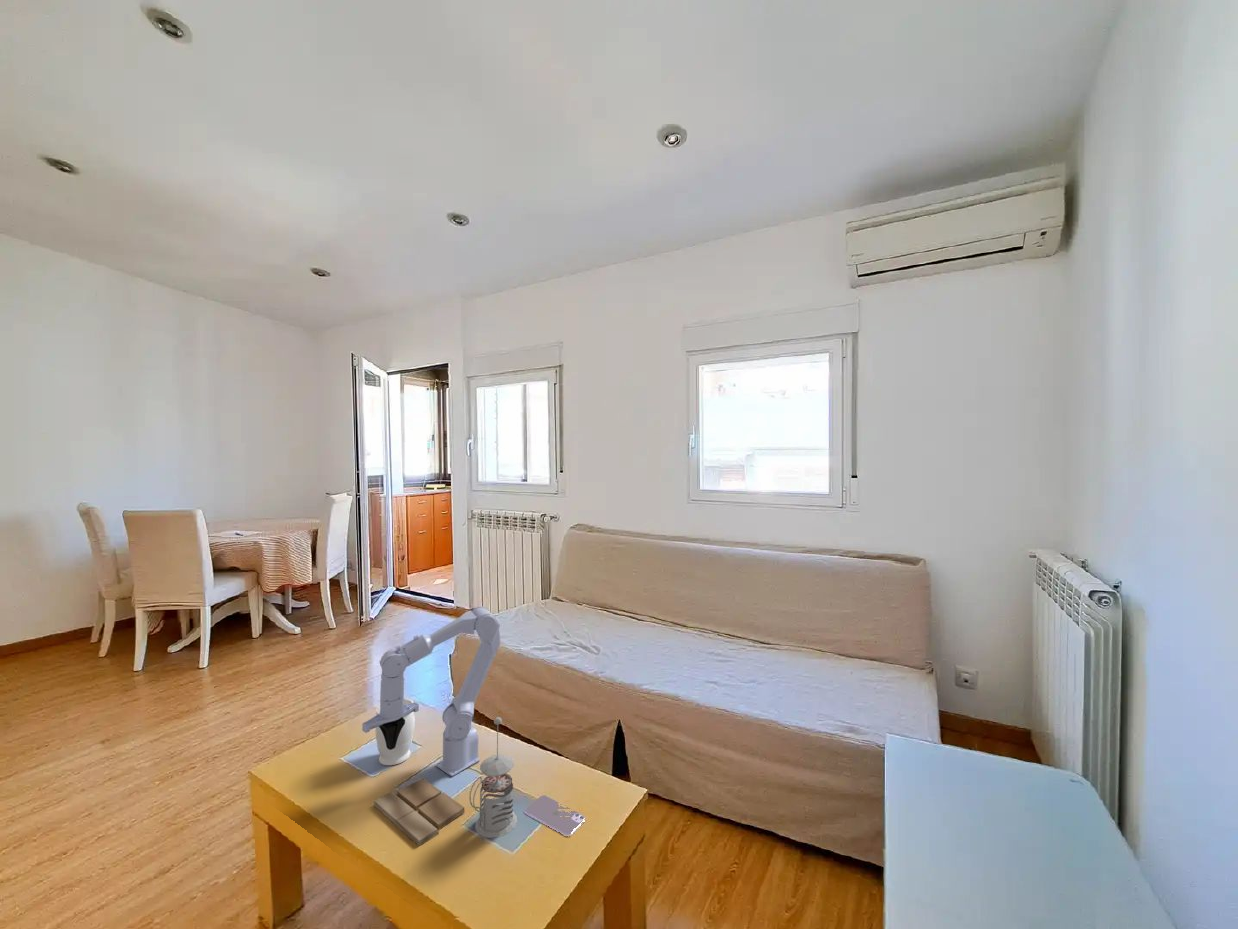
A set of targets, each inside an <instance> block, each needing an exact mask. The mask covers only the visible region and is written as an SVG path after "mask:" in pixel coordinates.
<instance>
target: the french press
mask: <svg viewBox="0 0 1238 929" xmlns="http://www.w3.org/2000/svg"><path fill="white" fill-rule="evenodd" d="M493 723H494V725H497V726H496V727H497V730H496V732H497V733H496V734H497V735H496V736H497V737H496V744H497V745H496V754H493V755H491V756H489V757H488V758H486V759H483V761H481V763H480V765H479V770H480V772H481V773H482V775H484V776H486V777H484V779H482V776H479V777H478V778H476V779H475V780H474V782H473V784H472V785H471V788H470V792H469V796H468V797H469V798H468V799H469V805H470V806H471V808H473V809H474V810H475V811H476V812H478V813H479V817H478V818H477V819H476V820H475V826H474V827H475V828H474V829H475V831H476V833H477V834H478V835H479V836H481V837H483V838H488V839H489V838H490V839H495V838H500V837H503V836H505V835H507V834H509V833H510V832H512V830H513V829H514V828H515V826H516V825H517V822H518V817H517V815H516V814H515V812H514V783H513V778H512V777H511V775H510V774H509V773H508V772H510V771H511V770H513V768H514V766H515V760H514V759H513V757H511V756H509V755H507V754H501V753H500V754H499V725H500V724H502V723H503V720H502V718H501V717H499V716H497V717H495V718H494V719H493ZM478 780H480V782H479V783H478V785H477V787H476V789H475V790H474V793H473V797H471V796H472V790H473V788H474V786H475V784H476V782H477V781H478ZM480 785H481V787H480ZM479 787H480V792H479V807H478V806H476V804H475V798H476V793H477V790H478V788H479ZM485 793H486V794H485ZM497 793H503V794H497ZM488 797H492V798H488ZM500 803H503V804H500Z"/></svg>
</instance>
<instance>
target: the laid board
mask: <svg viewBox="0 0 1238 929" xmlns="http://www.w3.org/2000/svg"><path fill="white" fill-rule="evenodd" d="M373 802H374V803H373V806H374V807H375V808H376V809H378V811H380V812H381V813H382V814H383V815H384V816H385V817H386V818H387V819H389V821H391V822H392V824H394V825H395V826H396V827H398V829H400V831H402V832H404V834H405V835H407V836H408V837H409V838H410V839H411V841H413V842H414V843H415V844H417V845H418V846H419V847H420V846H422V845H424V844H426V843H427V842H428V841H429V840H431V839H433V838H434V837H436V836H437V835H439V833H440V832H439V831H440V830H438V829H437V828H436V827H435V826H433V825H432V824H431V823H430V822H429V821H427V820H426V819H425V818H424V817H423V816H421V815H420V814H419V813H418V811H415V810H414V809H413V808H412V807H410V806H409V805H408V804H407V803H405V802H404V801H403V800H402V799H401V798H399V797H398V796H397V794H396V793H394V792H393V791H390V792H388V793H385V795H384V794H383V796H380V797H379V798H377V799H375V800H374V801H373Z"/></svg>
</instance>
